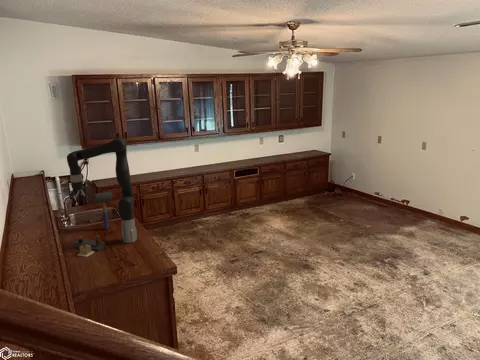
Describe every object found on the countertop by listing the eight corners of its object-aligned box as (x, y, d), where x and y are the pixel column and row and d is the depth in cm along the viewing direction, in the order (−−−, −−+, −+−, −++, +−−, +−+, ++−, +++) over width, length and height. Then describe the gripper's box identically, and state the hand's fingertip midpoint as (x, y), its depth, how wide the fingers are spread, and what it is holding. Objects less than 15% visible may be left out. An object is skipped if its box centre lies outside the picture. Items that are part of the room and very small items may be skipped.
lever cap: (91, 252, 249) (90, 244, 248) (87, 254, 245) (86, 246, 244) (84, 251, 251) (83, 242, 250) (80, 253, 247) (79, 245, 245)
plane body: (105, 247, 258) (103, 233, 256) (98, 251, 252) (97, 237, 249) (81, 243, 264) (80, 230, 261) (74, 247, 257) (73, 234, 255)
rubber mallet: (98, 232, 284) (94, 195, 277) (97, 228, 291) (93, 192, 283) (115, 229, 290) (112, 192, 282) (114, 226, 296) (110, 190, 288)
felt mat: (94, 251, 251) (94, 251, 251) (87, 256, 243) (86, 256, 243) (85, 250, 253) (85, 249, 253) (77, 255, 246) (76, 254, 246)
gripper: (73, 183, 247) (76, 206, 251) (88, 178, 260) (90, 200, 264) (64, 182, 249) (67, 205, 253) (79, 177, 262) (81, 199, 266)
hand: (79, 202), depth 258 cm, fingers open, 8 cm apart
